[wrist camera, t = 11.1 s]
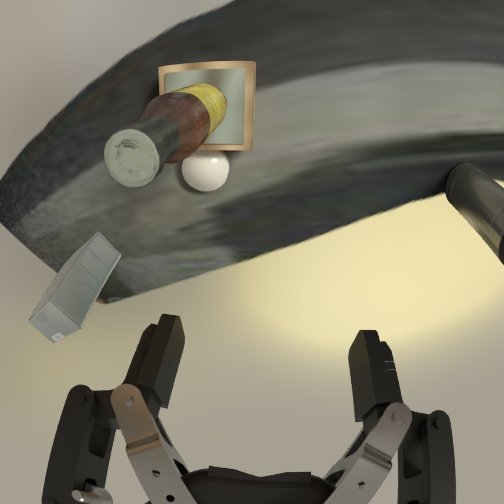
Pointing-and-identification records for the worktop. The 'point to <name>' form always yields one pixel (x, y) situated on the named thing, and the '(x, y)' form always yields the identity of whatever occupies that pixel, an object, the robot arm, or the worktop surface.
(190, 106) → the sauce bottle
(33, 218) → the worktop surface
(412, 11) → the worktop surface
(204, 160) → the white round dome
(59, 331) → the hard drive box
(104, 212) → the worktop surface
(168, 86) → the plinth
